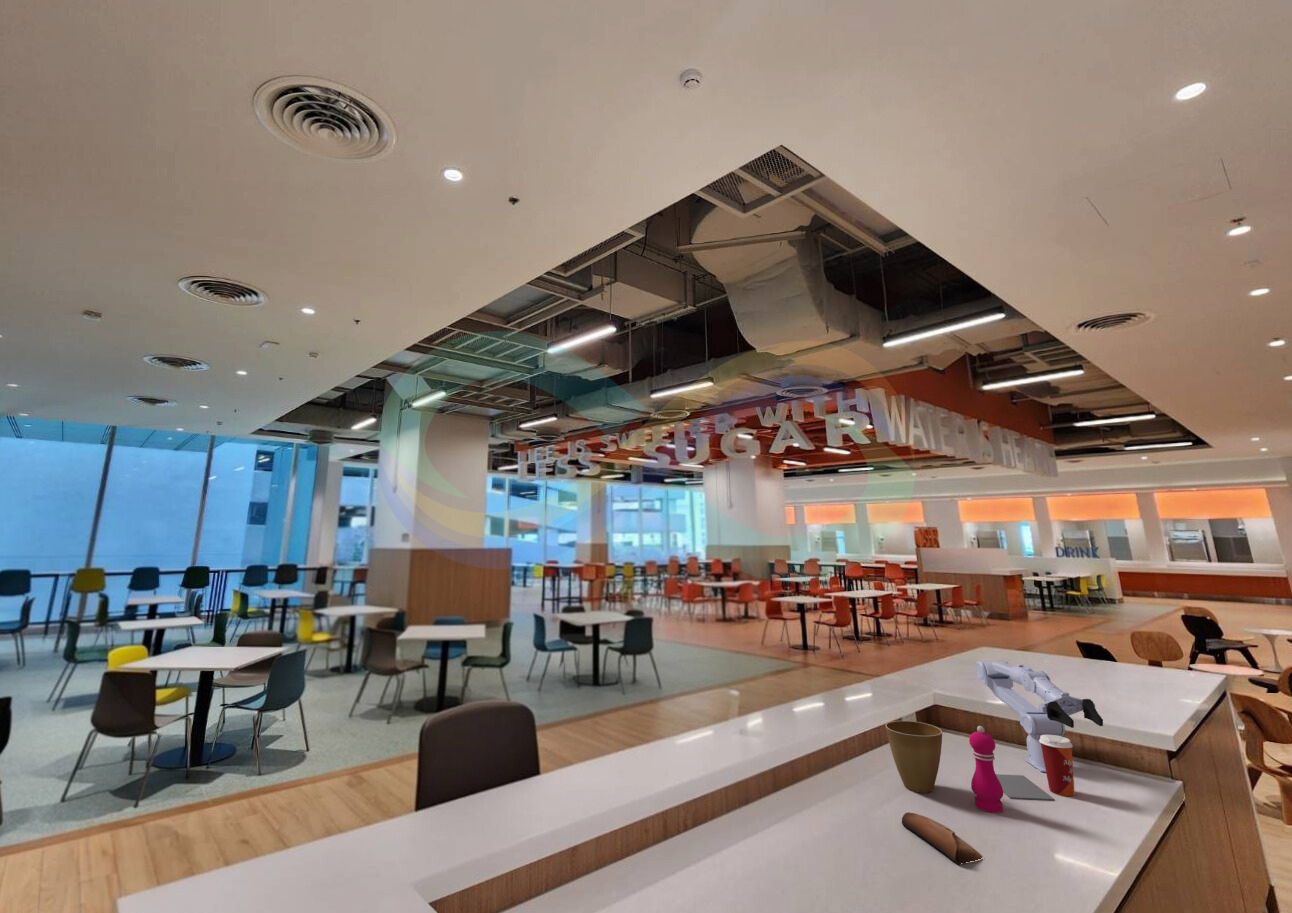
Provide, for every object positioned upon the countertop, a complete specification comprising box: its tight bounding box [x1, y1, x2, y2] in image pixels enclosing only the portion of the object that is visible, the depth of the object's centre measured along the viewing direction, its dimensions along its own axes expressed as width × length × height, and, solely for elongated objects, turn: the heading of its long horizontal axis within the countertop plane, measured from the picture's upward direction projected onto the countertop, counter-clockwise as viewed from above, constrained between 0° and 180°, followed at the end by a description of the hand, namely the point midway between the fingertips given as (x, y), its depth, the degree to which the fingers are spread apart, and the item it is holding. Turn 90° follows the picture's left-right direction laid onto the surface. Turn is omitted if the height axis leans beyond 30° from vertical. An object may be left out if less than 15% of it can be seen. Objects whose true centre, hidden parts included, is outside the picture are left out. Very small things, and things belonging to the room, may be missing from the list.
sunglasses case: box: [901, 811, 984, 865], centre depth 129 cm, size 18×7×7 cm, turn 13°
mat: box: [995, 773, 1056, 802], centre depth 157 cm, size 16×11×1 cm
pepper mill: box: [968, 725, 1004, 814], centre depth 147 cm, size 7×7×20 cm
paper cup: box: [1039, 735, 1075, 797], centre depth 155 cm, size 8×8×14 cm
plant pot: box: [885, 720, 943, 794], centre depth 160 cm, size 15×15×16 cm
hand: (1087, 723), depth 154 cm, fingers open, 7 cm apart
